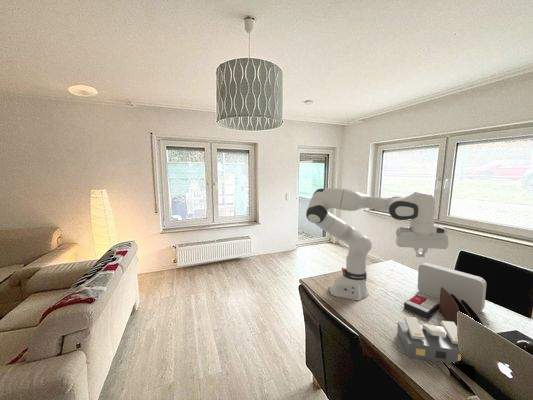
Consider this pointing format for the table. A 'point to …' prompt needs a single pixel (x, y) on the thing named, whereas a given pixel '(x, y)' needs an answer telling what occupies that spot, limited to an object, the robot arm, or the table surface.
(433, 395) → the table surface
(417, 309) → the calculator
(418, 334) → the rocker
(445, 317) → the letter holder
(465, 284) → the rounded white slab
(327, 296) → the table surface
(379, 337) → the table surface
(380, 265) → the table surface
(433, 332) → the rocker
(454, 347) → the switch console
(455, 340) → the rocker
